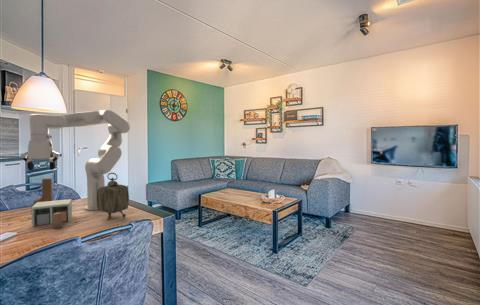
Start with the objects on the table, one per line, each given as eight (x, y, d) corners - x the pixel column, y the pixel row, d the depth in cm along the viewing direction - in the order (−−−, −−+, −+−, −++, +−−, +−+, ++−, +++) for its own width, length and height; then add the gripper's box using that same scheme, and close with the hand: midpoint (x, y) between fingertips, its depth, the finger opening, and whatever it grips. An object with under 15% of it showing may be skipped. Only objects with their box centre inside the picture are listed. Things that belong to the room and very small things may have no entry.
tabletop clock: (129, 216, 134) (128, 172, 133) (116, 221, 126) (115, 174, 125) (109, 214, 139) (108, 171, 138) (95, 218, 130) (94, 173, 129)
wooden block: (33, 207, 152) (32, 179, 151) (35, 206, 156) (34, 178, 155) (51, 206, 156) (50, 178, 156) (52, 204, 160) (51, 177, 160)
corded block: (67, 218, 131) (67, 205, 131) (63, 227, 116) (63, 213, 116) (56, 219, 128) (55, 207, 128) (50, 229, 114) (50, 215, 113)
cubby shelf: (71, 215, 136) (71, 199, 136) (69, 221, 126) (69, 203, 125) (37, 219, 128) (36, 202, 128) (32, 226, 118) (31, 207, 118)
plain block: (51, 220, 127) (50, 211, 127) (49, 223, 123) (49, 213, 123) (39, 222, 125) (38, 212, 125) (36, 225, 121) (36, 215, 120)
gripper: (62, 137, 132) (63, 168, 133) (25, 137, 128) (26, 169, 129) (55, 137, 125) (56, 170, 126) (15, 137, 121) (17, 171, 122)
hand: (41, 169), depth 127 cm, fingers open, 9 cm apart
